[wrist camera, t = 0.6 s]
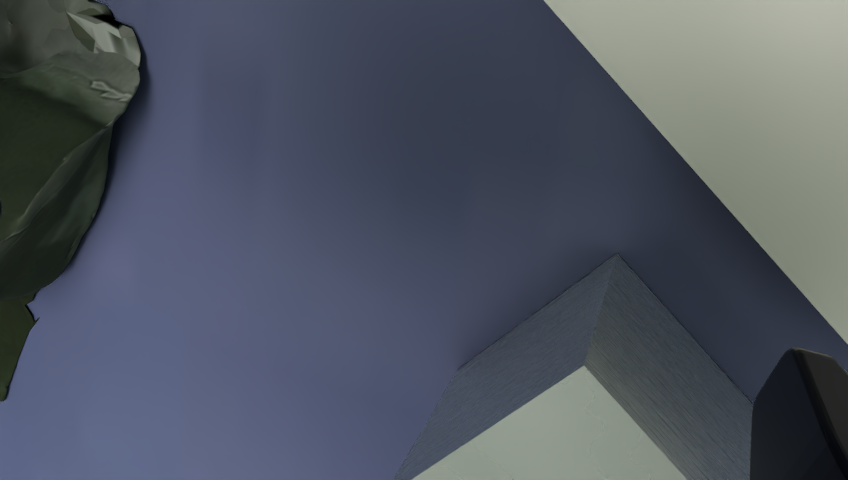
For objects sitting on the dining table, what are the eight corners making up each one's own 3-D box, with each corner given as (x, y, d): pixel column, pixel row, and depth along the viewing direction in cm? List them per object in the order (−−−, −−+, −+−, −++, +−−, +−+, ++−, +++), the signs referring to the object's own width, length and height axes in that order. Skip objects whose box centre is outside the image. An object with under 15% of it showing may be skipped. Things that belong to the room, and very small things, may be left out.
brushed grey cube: (769, 422, 21) (788, 591, 15) (592, 518, 23) (557, 688, 18) (617, 253, 20) (583, 365, 15) (457, 369, 23) (382, 498, 18)
